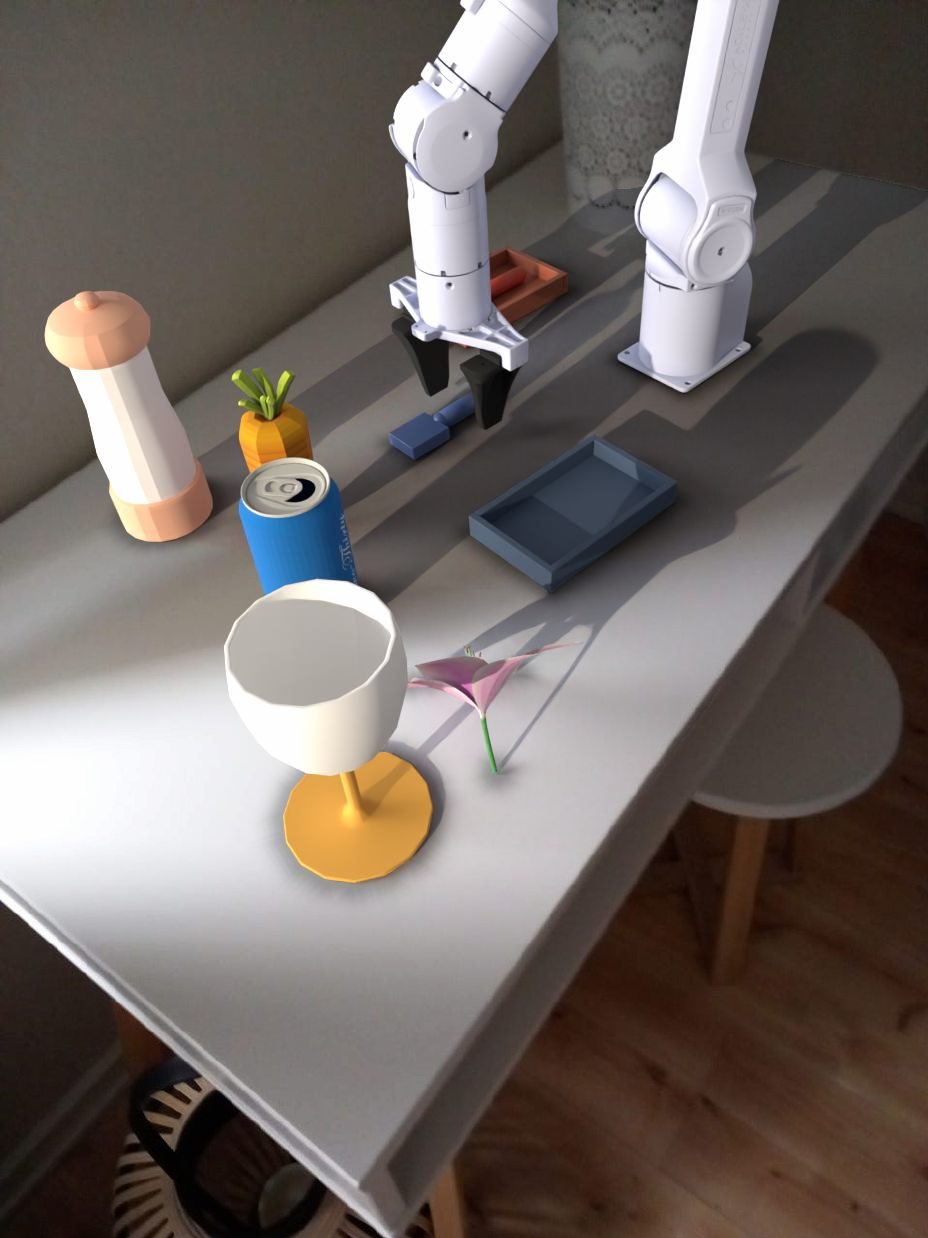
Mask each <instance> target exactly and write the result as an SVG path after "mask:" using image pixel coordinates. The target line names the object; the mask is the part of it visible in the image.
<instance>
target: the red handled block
mask: <svg viewBox="0 0 928 1238" xmlns="http://www.w3.org/2000/svg"><path fill="white" fill-rule="evenodd" d="M525 279H526V271H525V270H524V268H522V267H515V268H513V269H511V270H510V271H508V272H506V273H504V274H502V275H500V276H498V277H496V278H494V279H492V280H491V281H490V286H491V299H493V298H494V297H496V296H498V295H500V294H502V293H504V292H506V291H507V290H509V289H511V288H513V287H515V286H517V285H519V284H521V283H522V282H524V281H525Z"/></svg>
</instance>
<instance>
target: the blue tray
mask: <svg viewBox="0 0 928 1238" xmlns="http://www.w3.org/2000/svg"><path fill="white" fill-rule="evenodd" d="M678 484H679V481H677V480H675V479H673V478H672V477H671V476H668V474H665V473H663V472H661V471H660V470H659V469H656V468H654V467H652V466H651V465H649V464H647V463H646V462H644V461H642V460H640V459H639V458H637V457H635V456H634V455H632V454H630V453H628V452H627V451H625V450H623V449H621V448H620V447H618V446H616V445H615V444H612V443H611V442H609V441H608V440H606V439H604V438H602V437H600V436H599V435H597V434H595V433H593V434H592V435H589V437H587V438H586V439H584V440H583V441H580V442H579V443H577V444H576V445H575V446H573V447H572V448H570V449H569V450H567V451H566V452H564V453H562V454H561V455H560V456H558V457H556V458H555V459H553V460H552V461H550V462H548V463H547V464H546V465H544V466H543V467H541V468H539V469H538V470H536V471H535V472H533V473H532V474H530V475H529V476H528V477H526V478H524V479H523V480H521V481H520V482H518V483H516V484H515V485H514V486H512V487H510V488H509V489H507V490H505V492H503V493H501V494H500V495H499V496H498V495H497V497H495V498H494V499H492V500H491V501H489V502H488V503H486V504H485V505H483V506H481V507H480V508H478V509H477V510H476V511H474V512H472V513H471V514H469V515H468V523H469V535H470V536H471V537H472V538H473V539H475V540H476V541H478V542H480V544H481V545H484V546H485V547H486V548H487V549H489V550H491V551H492V552H493V553H495V554H496V555H497V556H498V557H500V558H502V559H503V560H504V561H506V562H507V563H509V564H510V565H511V566H513V567H514V568H516V569H517V570H519V572H521V573H523V574H524V575H526V576H527V577H528V578H530V579H531V580H532V581H534V582H535V583H537V584H539V585H540V586H541V587H542V588H544V589H545V590H547V591H548V592H549V593H553V592H554V591H556V590H557V589H559V588H560V587H561V586H563V585H564V584H565V583H566V582H568V581H569V580H570V579H572V578H574V577H575V576H576V575H577V574H579V573H580V572H582V571H583V570H585V568H587V567H588V566H589V565H592V563H594V562H595V561H596V560H598V559H599V558H601V557H602V556H603V555H605V554H607V552H609V551H611V550H612V549H613V548H614V547H616V546H617V545H618V544H620V543H622V541H624V540H625V539H626V538H627V537H629V536H630V535H632V534H633V533H635V532H636V531H638V530H639V529H640V528H642V527H643V526H644V525H646V524H647V523H648V522H650V521H651V520H652V519H654V518H655V517H657V516H658V515H659V514H661V513H662V512H663V511H665V510H666V509H667V508H669V507H671V505H673V504H675V503H676V501H677V494H678Z"/></svg>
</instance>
